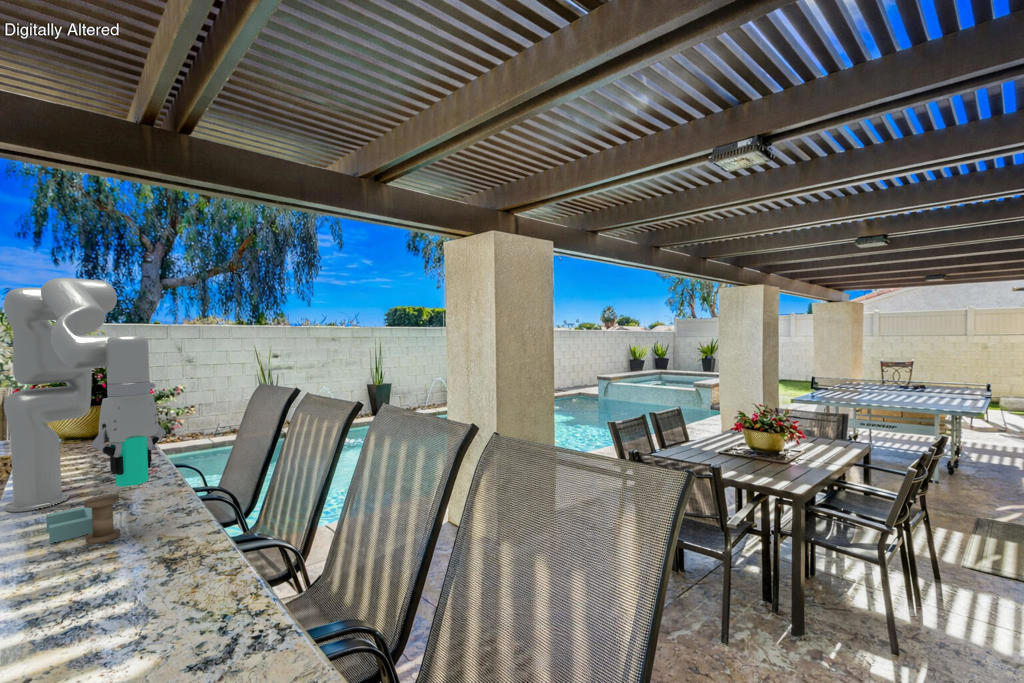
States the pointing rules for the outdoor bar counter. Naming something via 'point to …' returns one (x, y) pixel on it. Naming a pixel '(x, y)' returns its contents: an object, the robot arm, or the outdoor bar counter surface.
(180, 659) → the outdoor bar counter surface
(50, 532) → the notch board
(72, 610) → the outdoor bar counter surface
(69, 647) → the outdoor bar counter surface
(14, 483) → the robot arm
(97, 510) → the bobbin
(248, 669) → the outdoor bar counter surface
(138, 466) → the candle
